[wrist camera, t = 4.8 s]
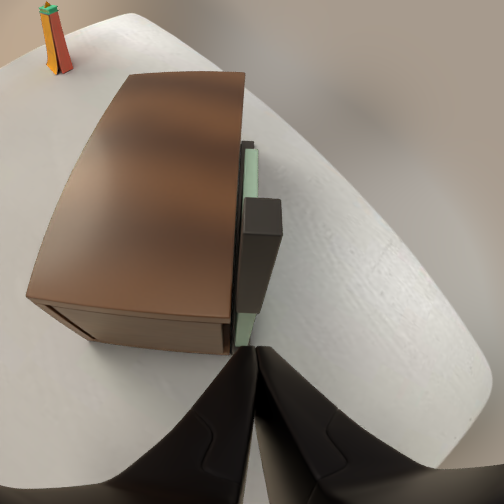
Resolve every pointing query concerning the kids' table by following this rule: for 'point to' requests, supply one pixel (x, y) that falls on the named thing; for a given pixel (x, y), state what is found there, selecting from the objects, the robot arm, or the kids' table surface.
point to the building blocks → (54, 40)
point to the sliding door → (254, 248)
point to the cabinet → (152, 219)
